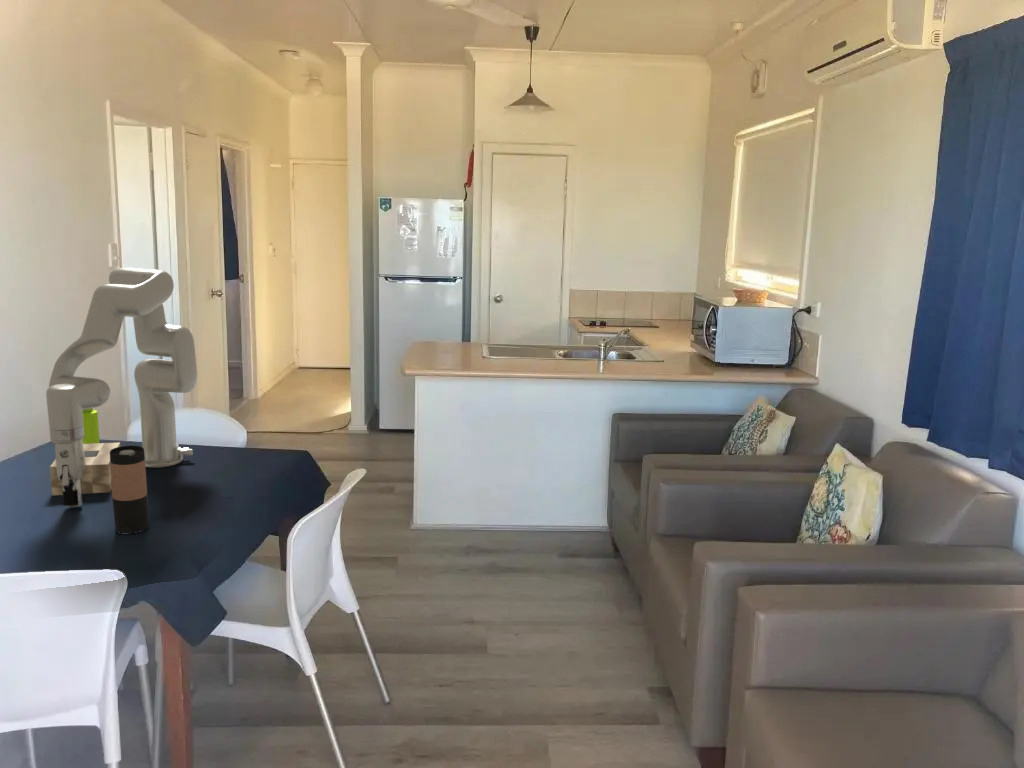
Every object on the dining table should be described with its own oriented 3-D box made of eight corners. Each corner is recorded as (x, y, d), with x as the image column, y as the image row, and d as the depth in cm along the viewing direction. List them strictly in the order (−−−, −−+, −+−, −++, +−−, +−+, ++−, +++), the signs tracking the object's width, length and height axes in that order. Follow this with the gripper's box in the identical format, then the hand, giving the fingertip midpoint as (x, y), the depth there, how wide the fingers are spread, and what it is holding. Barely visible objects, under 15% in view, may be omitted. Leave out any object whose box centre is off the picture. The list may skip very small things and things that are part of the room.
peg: (83, 500, 210) (81, 475, 208) (80, 506, 206) (78, 480, 205) (66, 502, 209) (64, 476, 207) (63, 507, 205) (60, 481, 204)
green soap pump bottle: (97, 456, 248) (93, 392, 244) (75, 455, 248) (70, 391, 244) (107, 450, 254) (103, 388, 249) (85, 449, 254) (80, 387, 249)
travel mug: (121, 522, 201) (116, 445, 196) (153, 522, 201) (149, 445, 197) (109, 534, 193) (103, 454, 189) (142, 535, 194) (137, 455, 189)
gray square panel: (98, 453, 228) (98, 450, 228) (95, 459, 224) (94, 456, 224) (78, 454, 227) (78, 451, 227) (75, 460, 222) (74, 457, 222)
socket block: (121, 468, 238) (120, 442, 237) (110, 492, 220) (108, 464, 218) (68, 471, 234) (66, 444, 232) (52, 495, 216) (49, 466, 214)
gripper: (76, 442, 197) (83, 513, 201) (90, 423, 212) (95, 488, 216) (42, 444, 194) (49, 515, 199) (58, 424, 210) (64, 490, 214)
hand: (73, 500), depth 207 cm, fingers closed on peg, 4 cm apart
